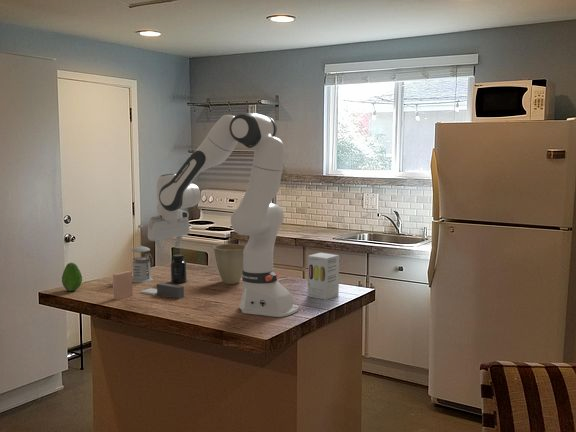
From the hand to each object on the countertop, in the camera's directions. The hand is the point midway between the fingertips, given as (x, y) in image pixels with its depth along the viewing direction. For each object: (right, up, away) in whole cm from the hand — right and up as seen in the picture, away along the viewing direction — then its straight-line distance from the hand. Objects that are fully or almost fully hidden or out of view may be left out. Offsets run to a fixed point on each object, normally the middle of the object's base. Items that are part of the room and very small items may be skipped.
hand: (169, 248), depth 237 cm
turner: (-3, -19, +4) cm, 20 cm away
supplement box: (+62, -19, +2) cm, 65 cm away
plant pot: (+22, -16, +26) cm, 38 cm away
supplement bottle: (-1, -16, +26) cm, 31 cm away
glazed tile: (-18, -19, 0) cm, 27 cm away
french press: (-18, -16, +30) cm, 38 cm away
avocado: (-42, -18, +10) cm, 47 cm away
